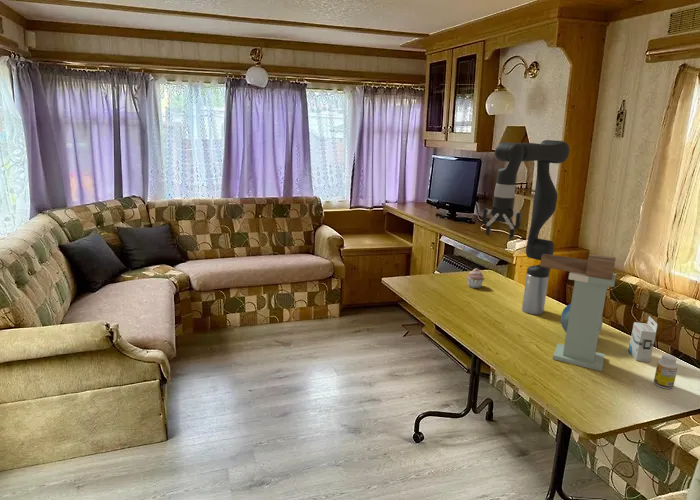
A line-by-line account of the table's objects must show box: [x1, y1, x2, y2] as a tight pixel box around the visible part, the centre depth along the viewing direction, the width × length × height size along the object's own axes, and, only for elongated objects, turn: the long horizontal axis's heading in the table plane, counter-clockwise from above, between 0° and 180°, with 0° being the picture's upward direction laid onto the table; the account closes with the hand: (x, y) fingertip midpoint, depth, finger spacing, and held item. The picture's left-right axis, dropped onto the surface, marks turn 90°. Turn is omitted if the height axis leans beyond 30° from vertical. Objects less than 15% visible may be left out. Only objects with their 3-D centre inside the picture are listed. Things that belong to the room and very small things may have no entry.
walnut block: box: [539, 253, 617, 280], centre depth 171 cm, size 8×23×6 cm, turn 60°
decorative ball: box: [560, 303, 603, 333], centre depth 194 cm, size 15×15×15 cm
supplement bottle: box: [653, 353, 679, 390], centre depth 160 cm, size 6×6×10 cm
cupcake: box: [465, 267, 486, 289], centre depth 252 cm, size 9×9×10 cm
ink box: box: [628, 316, 658, 363], centre depth 179 cm, size 9×5×15 cm, turn 168°
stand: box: [552, 272, 617, 372], centre depth 174 cm, size 12×16×32 cm
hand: (499, 236), depth 193 cm, fingers open, 8 cm apart
